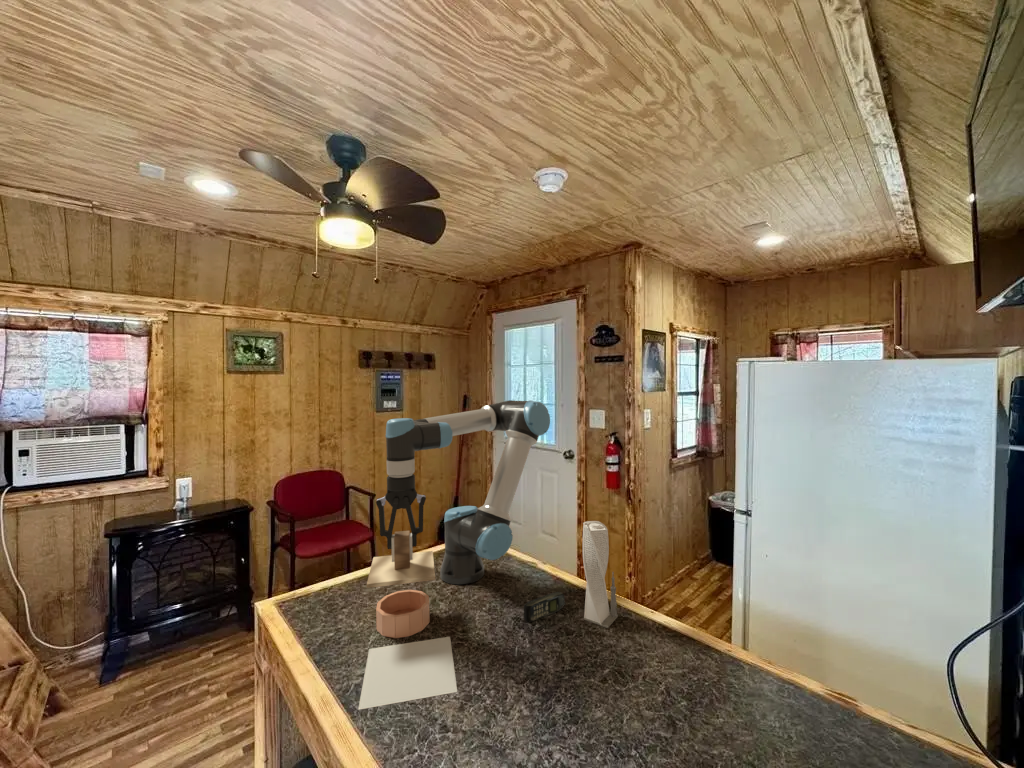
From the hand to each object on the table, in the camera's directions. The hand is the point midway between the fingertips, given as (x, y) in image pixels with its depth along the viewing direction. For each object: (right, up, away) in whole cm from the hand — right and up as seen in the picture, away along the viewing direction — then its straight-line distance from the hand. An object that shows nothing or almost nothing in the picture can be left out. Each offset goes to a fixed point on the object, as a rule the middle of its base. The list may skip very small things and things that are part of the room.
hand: (402, 558), depth 115 cm
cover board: (0, -3, 0) cm, 3 cm away
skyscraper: (+54, -17, +1) cm, 57 cm away
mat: (+7, -18, -19) cm, 27 cm away
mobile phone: (+40, -18, +4) cm, 44 cm away
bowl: (0, -18, 0) cm, 18 cm away
